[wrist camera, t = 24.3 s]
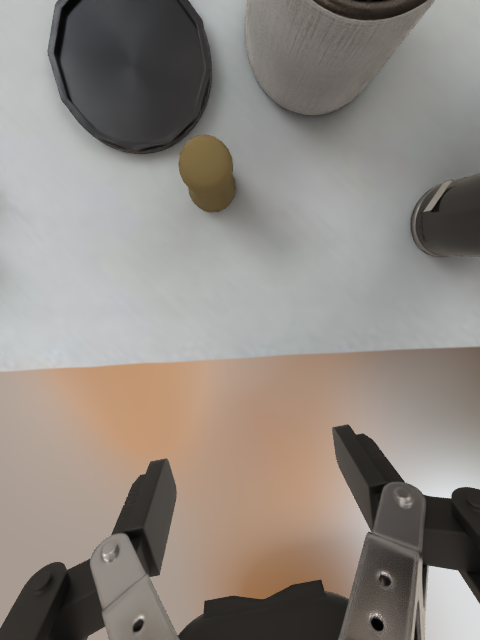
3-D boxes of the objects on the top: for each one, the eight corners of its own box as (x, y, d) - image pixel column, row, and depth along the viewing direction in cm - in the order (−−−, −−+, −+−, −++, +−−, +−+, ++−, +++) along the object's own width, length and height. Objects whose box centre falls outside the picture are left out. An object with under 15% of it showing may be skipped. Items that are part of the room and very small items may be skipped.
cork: (182, 168, 36) (161, 134, 25) (228, 155, 36) (227, 114, 25) (196, 217, 38) (182, 204, 27) (240, 205, 37) (245, 186, 27)
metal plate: (192, -45, 31) (190, -58, 30) (225, 138, 36) (225, 133, 34) (31, -10, 32) (22, -22, 30) (83, 167, 36) (78, 163, 34)
